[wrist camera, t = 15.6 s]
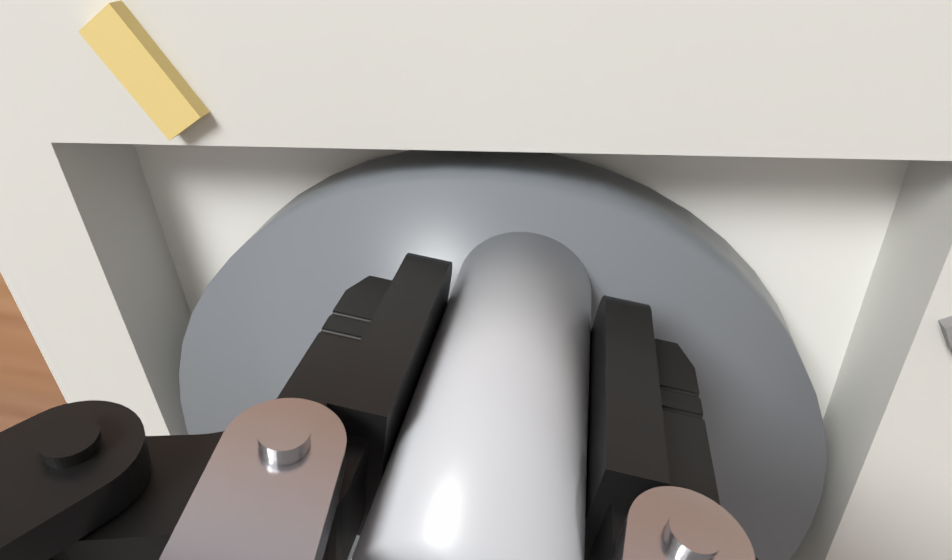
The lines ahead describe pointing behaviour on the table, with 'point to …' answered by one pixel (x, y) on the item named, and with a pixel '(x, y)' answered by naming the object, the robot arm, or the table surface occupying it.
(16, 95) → the white square tray
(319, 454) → the robot arm
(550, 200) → the dial
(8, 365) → the table surface
